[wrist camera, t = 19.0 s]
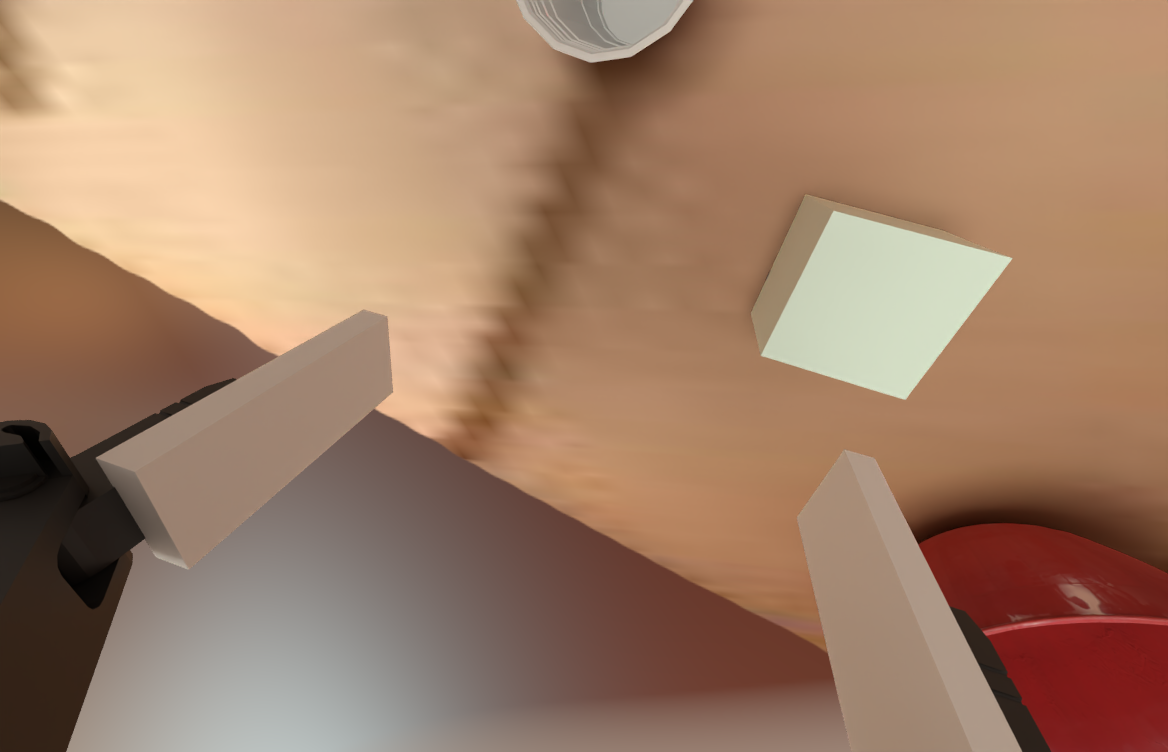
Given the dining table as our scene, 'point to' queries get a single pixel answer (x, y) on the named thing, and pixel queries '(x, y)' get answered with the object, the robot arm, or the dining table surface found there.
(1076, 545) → the mixing bowl
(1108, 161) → the dining table surface
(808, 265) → the pale green brick
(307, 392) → the robot arm
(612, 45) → the plastic cup
